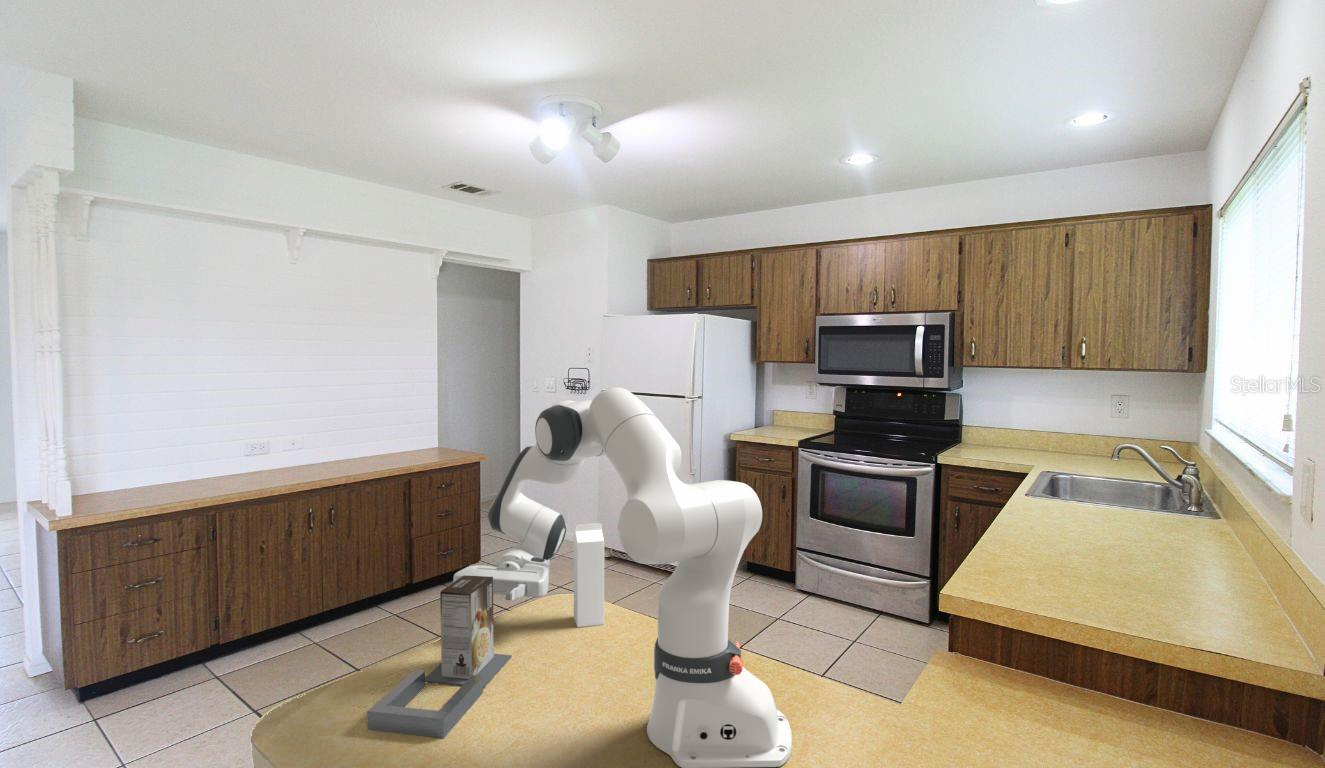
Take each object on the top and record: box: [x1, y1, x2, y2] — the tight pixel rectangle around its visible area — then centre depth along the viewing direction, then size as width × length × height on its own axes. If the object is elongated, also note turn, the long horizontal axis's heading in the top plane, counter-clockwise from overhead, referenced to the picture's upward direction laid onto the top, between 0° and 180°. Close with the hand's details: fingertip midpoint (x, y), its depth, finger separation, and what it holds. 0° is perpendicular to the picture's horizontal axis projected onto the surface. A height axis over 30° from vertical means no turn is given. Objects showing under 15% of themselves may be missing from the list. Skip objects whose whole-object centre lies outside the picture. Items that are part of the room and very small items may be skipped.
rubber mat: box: [425, 653, 513, 689], centre depth 118 cm, size 12×12×1 cm
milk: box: [573, 522, 605, 628], centre depth 140 cm, size 6×6×22 cm
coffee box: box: [439, 575, 495, 679], centre depth 118 cm, size 9×6×16 cm
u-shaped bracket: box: [366, 669, 484, 739], centre depth 104 cm, size 13×14×3 cm
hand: (486, 594), depth 127 cm, fingers open, 8 cm apart
